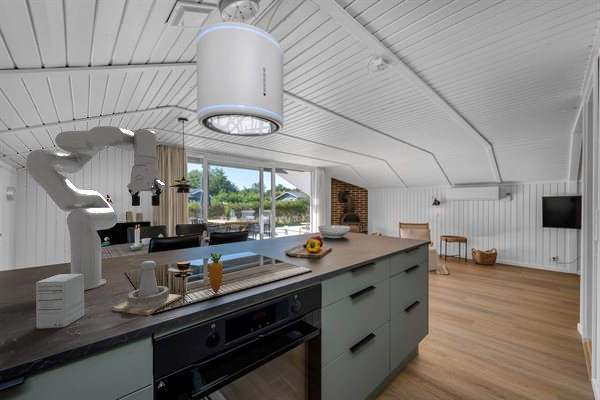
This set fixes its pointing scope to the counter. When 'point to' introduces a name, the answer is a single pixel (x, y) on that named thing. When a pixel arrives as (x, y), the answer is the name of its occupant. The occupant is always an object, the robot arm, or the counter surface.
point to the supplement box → (59, 300)
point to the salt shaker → (148, 280)
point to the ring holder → (146, 302)
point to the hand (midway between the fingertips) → (145, 205)
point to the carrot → (215, 272)
